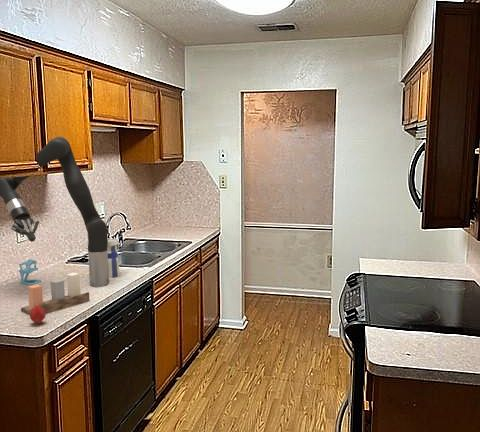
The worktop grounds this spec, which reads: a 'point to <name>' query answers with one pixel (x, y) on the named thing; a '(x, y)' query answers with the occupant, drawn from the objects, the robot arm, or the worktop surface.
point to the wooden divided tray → (60, 303)
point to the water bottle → (113, 258)
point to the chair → (27, 271)
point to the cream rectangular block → (73, 284)
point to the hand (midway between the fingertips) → (33, 240)
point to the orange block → (35, 296)
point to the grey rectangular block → (57, 290)
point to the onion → (37, 314)
